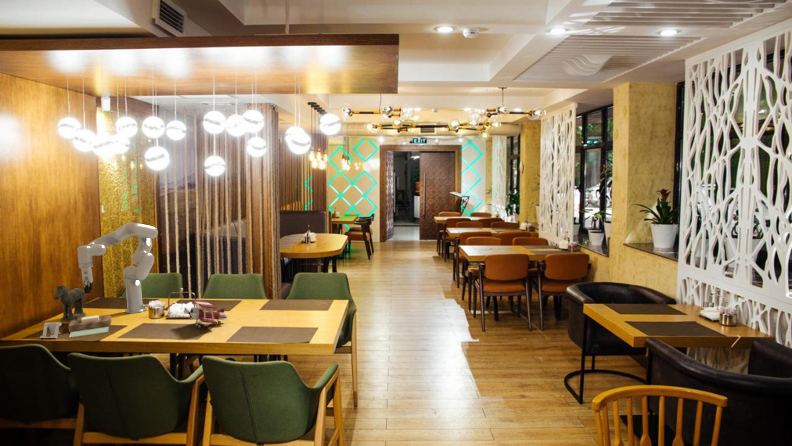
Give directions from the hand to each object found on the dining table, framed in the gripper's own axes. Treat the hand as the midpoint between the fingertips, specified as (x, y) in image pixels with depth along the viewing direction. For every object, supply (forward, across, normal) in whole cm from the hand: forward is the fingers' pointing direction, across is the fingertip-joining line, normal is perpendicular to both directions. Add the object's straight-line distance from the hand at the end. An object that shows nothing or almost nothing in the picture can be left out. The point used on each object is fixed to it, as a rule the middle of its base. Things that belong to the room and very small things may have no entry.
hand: (88, 291), depth 334 cm
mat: (+20, -24, -1) cm, 31 cm away
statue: (+21, +16, +14) cm, 30 cm away
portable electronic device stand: (+21, -23, +18) cm, 36 cm away
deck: (+20, -10, -1) cm, 23 cm away
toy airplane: (+21, -48, -66) cm, 85 cm away
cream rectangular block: (+16, -10, -1) cm, 19 cm away
